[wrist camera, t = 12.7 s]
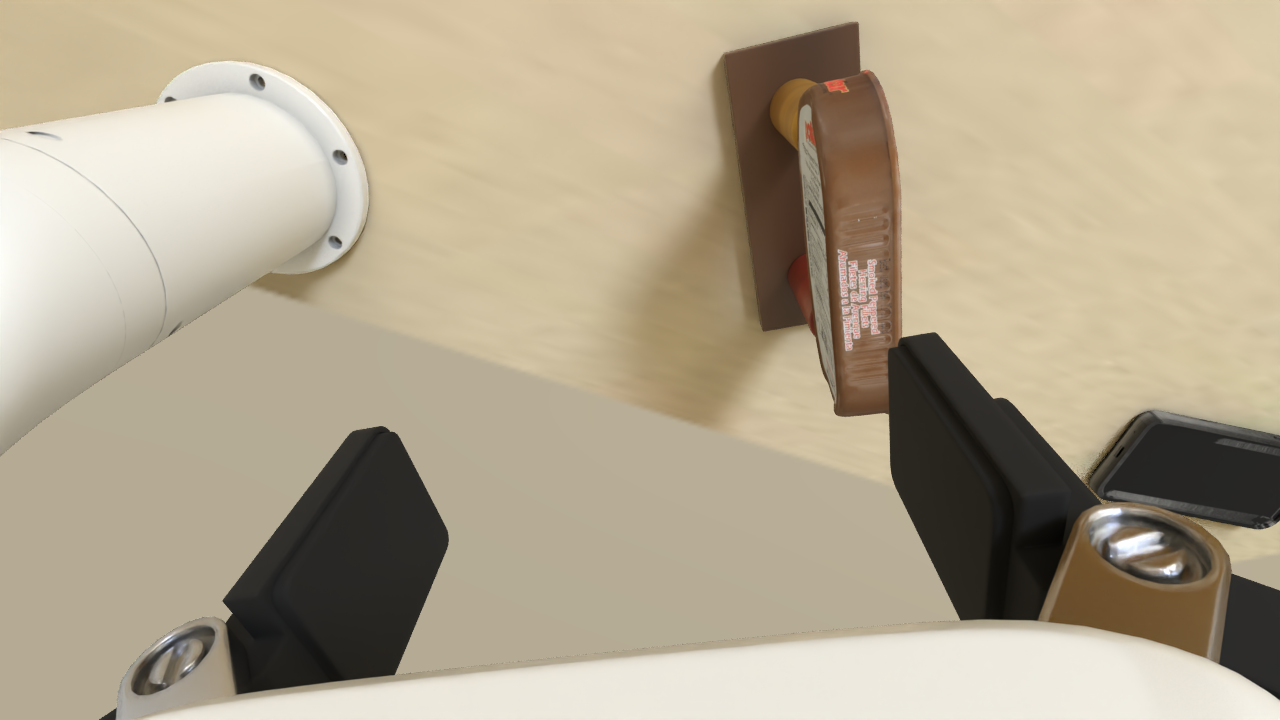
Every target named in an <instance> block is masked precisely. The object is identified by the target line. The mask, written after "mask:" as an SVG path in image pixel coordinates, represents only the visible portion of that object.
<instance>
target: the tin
mask: <svg viewBox="0 0 1280 720" xmlns="http://www.w3.org/2000/svg"><path fill="white" fill-rule="evenodd" d="M797 141H798V156H799V170H800V182H801V195H802V208H803V222H804V236H805V247H806V258H807V268H808V278H809V287H810V296H811V305H812V313H813V321H814V328H815V335H816V342H817V348H818V353H819V359H820V364H821V368H822V371H823V374H824V377H825V379H826V380H827V382H828V384H829V387H830V391H831V394H832V397H833V400H834V412H835V414H836V415H838V416H842V417H850V416H861V415H870V414H878V413H886V414H889V389H888V350H889V348H893V347H898V342H899V339H900V338H902V274H901V267H902V266H901V258H902V251H901V185H900V173H899V164H898V153H897V147H896V142H895V137H894V130H893V124H892V118H891V115H890V111H889V106H888V103H887V100H886V97H885V94H884V91H883V88H882V86H881V85H880V83H879V81H878V79H877V77H876V76H875V75H874V73H873V72H871V71H869V70H864V71H862V72H860V73H859V74H858V75H855V76H851V77H847V78H842V79H837V80H833V81H828V82H824V83H820V84H816V85H814V86H811V87H810V88H808V89H807V90H806V91H805V92H804V93H803V94H802V96H801V98H800V100H799V105H798V114H797Z"/></svg>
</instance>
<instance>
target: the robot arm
mask: <svg viewBox="0 0 1280 720" xmlns="http://www.w3.org/2000/svg"><path fill="white" fill-rule="evenodd" d="M262 79H263V80H264V82H265V84H264V83H263V80H262ZM343 152H344V153H345V154H346V156H347V158H345V157H344V155H343ZM368 207H369V186H368V182H367V177H366V172H365V167H364V164H363V162H362V159H361V157H360V154H359V151H358V149H357V146H356V145H355V143H354V141H353V140H352V138H351V136H350V134H349V133H348V131H347V129H346V127H345V126H344V125H343V124H342V122H341V121H340V120H339V119H338V117H337V116H336V115H335V114H334V112H333V111H332V110H331V109H330V108H329V107H328V106H327V105H326V104H325V103H324V102H323V101H322V100H321V99H320V98H319V97H318V96H317V95H315V94H314V93H313V92H312V91H311V90H309V89H308V88H306V87H305V86H303V85H302V84H300V83H299V82H298V81H296V80H295V79H293V78H291V77H289V76H287V75H285V74H283V73H281V72H279V71H276V70H274V69H272V68H269V67H265V66H262V65H258V64H255V63H251V62H240V61H222V62H210V63H206V64H202V65H199V66H195V67H191V68H189V69H188V70H186V71H184V72H183V73H181V74H179V75H178V76H176V77H175V78H174V79H173V80H172V81H171V82H170V83H169V84H168V85H167V86H166V87H165V88H164V89H163V91H162V93H161V95H160V96H159V98H158V100H157V102H156V104H153V105H147V106H141V107H135V108H129V109H123V110H117V111H111V112H105V113H99V114H93V115H87V116H81V117H75V118H69V119H63V120H57V121H51V122H45V123H40V124H34V125H28V126H22V127H16V128H10V129H4V130H0V456H1V455H2V454H4V453H5V451H7V450H8V449H9V448H10V447H11V446H12V445H14V444H15V443H16V442H17V441H19V440H20V439H21V438H22V437H23V436H24V435H26V434H27V433H28V432H29V431H31V430H32V429H33V428H34V427H35V426H37V425H38V424H39V423H40V422H42V421H43V420H44V419H46V418H47V417H49V416H50V415H51V414H53V413H54V412H55V411H57V410H58V409H59V408H61V407H62V406H63V405H65V404H66V403H68V402H69V401H70V400H72V399H73V398H75V397H76V396H78V395H79V394H81V393H82V392H84V391H85V390H87V389H88V388H90V387H91V386H92V385H94V384H95V383H97V382H98V381H100V380H101V379H103V378H104V377H106V376H107V375H109V374H110V373H112V372H114V371H115V370H117V369H118V368H120V367H121V366H123V365H125V364H126V363H128V362H129V361H131V360H132V359H134V358H135V357H137V356H139V355H140V354H142V353H144V352H145V351H147V350H148V349H150V348H151V347H153V346H155V345H156V344H158V343H159V342H161V341H162V340H164V339H165V338H167V337H168V336H170V335H172V334H173V333H175V332H176V331H178V330H180V329H181V328H183V327H184V326H186V325H187V324H189V323H191V322H192V321H194V320H195V319H197V318H198V317H200V316H202V315H203V314H205V313H206V312H208V311H209V310H211V309H212V308H214V307H216V306H217V305H219V304H220V303H222V302H223V301H225V300H226V299H228V298H229V297H231V296H233V295H234V294H236V293H237V292H239V291H241V290H242V289H244V288H245V287H247V286H249V285H250V284H252V283H253V282H255V281H256V280H258V279H260V278H261V277H263V276H264V275H266V274H267V273H269V272H271V273H277V274H290V275H293V274H302V273H309V272H313V271H316V270H319V269H322V268H324V267H326V266H328V265H329V264H331V263H333V262H334V261H336V260H338V259H339V258H340V257H341V256H343V255H344V254H345V253H346V252H348V251H349V250H350V249H351V247H352V246H353V245H354V243H355V242H356V241H357V239H358V238H359V236H360V234H361V232H362V230H363V227H364V225H365V223H366V218H367V213H368ZM339 239H340V240H341V241H340V240H339ZM888 389H889V429H890V466H891V474H892V478H893V481H894V484H895V487H896V489H897V491H898V493H899V495H900V497H901V499H902V501H903V503H904V505H905V507H906V509H907V512H908V514H909V515H910V518H911V520H912V522H913V524H914V526H915V528H916V530H917V532H918V534H919V536H920V538H921V540H922V542H923V544H924V546H925V548H926V550H927V552H928V555H929V557H930V558H931V561H932V563H933V564H934V567H935V569H936V571H937V573H938V575H939V577H940V579H941V581H942V583H943V585H944V587H945V589H946V591H947V593H948V596H949V597H950V600H951V602H952V603H953V606H954V608H955V610H956V612H957V614H958V616H959V618H960V620H961V621H940V622H919V623H908V624H896V625H884V626H873V627H860V628H848V629H836V630H824V631H812V632H802V633H792V634H783V635H772V636H762V637H752V638H742V639H732V640H722V641H712V642H702V643H692V644H682V645H672V646H662V647H652V648H642V649H633V650H623V651H613V652H604V653H594V654H585V655H575V656H566V657H556V658H547V659H538V660H529V661H518V662H509V663H501V664H490V665H481V666H471V667H463V668H454V669H445V670H436V671H427V672H418V673H409V674H401V675H395V673H396V670H397V668H398V666H399V663H400V661H401V659H402V656H403V654H404V651H405V649H406V647H407V644H408V642H409V639H410V637H411V634H412V632H413V630H414V627H415V625H416V622H417V620H418V618H419V615H420V613H421V610H422V608H423V606H424V603H425V601H426V598H427V596H428V593H429V591H430V589H431V586H432V584H433V581H434V579H435V577H436V574H437V572H438V569H439V567H440V564H441V562H442V560H443V557H444V555H445V553H446V550H447V547H448V542H449V538H448V531H447V529H446V527H445V525H444V523H443V521H442V519H441V517H440V515H439V513H438V511H437V509H436V507H435V505H434V503H433V501H432V499H431V497H430V495H429V494H428V492H427V490H426V488H425V486H424V484H423V482H422V480H421V478H420V476H419V474H418V472H417V471H416V468H415V467H414V465H413V463H412V461H411V459H410V457H409V455H408V453H407V451H406V449H405V447H404V445H403V444H402V442H401V440H400V438H399V436H398V435H397V434H396V433H395V432H390V431H389V430H388V429H387V428H386V427H383V426H379V427H373V428H367V429H362V430H356V431H353V432H352V433H350V434H349V436H348V437H347V438H346V439H345V441H344V442H343V443H342V445H341V446H340V447H339V449H338V450H337V451H336V453H335V454H334V455H333V457H332V458H331V459H330V461H329V462H328V463H327V464H326V466H325V467H324V468H323V470H322V471H321V472H320V474H319V475H318V476H317V477H316V479H315V480H314V482H313V483H312V484H311V485H310V487H309V488H308V489H307V491H306V492H305V493H304V494H303V496H302V497H301V499H300V500H299V501H298V502H297V504H296V505H295V506H294V508H293V509H292V510H291V512H290V513H289V514H288V515H287V517H286V518H285V519H284V521H283V522H282V523H281V525H280V526H279V527H278V529H277V530H276V531H275V532H274V534H273V535H272V536H271V538H270V539H269V540H268V542H267V543H266V544H265V546H264V547H263V548H262V549H261V551H260V552H259V554H258V555H257V556H256V557H255V559H254V560H253V561H252V563H251V564H250V565H249V567H248V568H247V569H246V571H245V572H244V573H243V575H242V576H241V577H240V578H239V580H238V581H237V582H236V584H235V585H234V586H233V588H232V589H231V590H230V591H229V593H228V594H227V595H226V597H225V598H224V599H223V602H224V604H225V605H226V606H227V607H228V608H229V610H230V611H231V612H232V613H233V614H232V615H231V616H230V618H229V619H228V621H227V622H226V623H225V622H224V621H223V620H221V619H219V618H216V617H202V618H199V619H196V620H193V621H189V622H187V623H185V624H183V625H181V626H179V627H177V628H175V629H173V630H172V631H170V632H169V633H167V634H166V635H164V636H163V637H161V638H160V639H158V640H157V641H156V642H155V643H154V644H152V645H151V646H150V647H149V648H148V649H146V650H145V651H144V652H143V653H142V654H141V655H140V656H139V658H138V659H137V660H136V661H135V662H134V663H133V664H132V665H131V666H130V668H129V669H128V671H127V673H126V674H125V676H124V677H123V679H122V681H121V684H120V688H119V691H118V700H117V708H116V709H114V710H113V711H111V712H110V713H108V714H107V715H105V716H104V717H102V718H101V719H99V720H1280V591H1279V590H1277V589H1274V588H1271V587H1268V586H1265V585H1262V584H1260V583H1257V582H1254V581H1251V580H1248V579H1246V578H1243V577H1240V576H1237V575H1234V574H1231V572H1232V570H1231V564H1230V558H1229V555H1228V553H1227V552H1226V551H1225V549H1224V548H1223V546H1222V545H1221V543H1220V542H1219V541H1218V540H1217V539H1216V538H1215V537H1214V536H1212V535H1211V534H1210V533H1209V532H1208V531H1206V530H1205V529H1204V528H1203V527H1202V526H1200V525H1198V524H1196V523H1194V522H1192V521H1191V520H1189V519H1187V518H1185V517H1183V516H1181V515H1179V514H1176V513H1173V512H1171V511H1168V510H1165V509H1162V508H1159V507H1155V506H1150V505H1145V504H1140V503H1133V502H1111V503H1106V504H1102V503H1101V502H1100V501H1099V500H1098V499H1097V498H1096V496H1095V495H1094V494H1093V493H1092V492H1091V491H1090V490H1089V489H1088V487H1087V486H1086V485H1085V484H1084V483H1083V482H1082V481H1081V480H1080V479H1079V477H1078V476H1077V475H1076V474H1075V473H1074V472H1073V471H1072V470H1071V469H1070V467H1069V466H1068V465H1067V464H1066V463H1065V462H1064V461H1063V460H1062V459H1061V457H1060V456H1059V455H1058V454H1057V453H1056V452H1055V451H1054V450H1053V448H1052V447H1051V446H1050V445H1049V444H1048V443H1047V442H1046V441H1045V440H1044V438H1043V437H1042V436H1041V435H1040V434H1039V433H1038V432H1037V431H1036V430H1035V428H1034V427H1033V426H1032V425H1031V424H1030V423H1029V422H1028V421H1027V419H1026V418H1025V417H1024V416H1023V415H1022V414H1021V413H1020V412H1019V411H1018V409H1017V408H1016V407H1015V406H1014V405H1013V404H1012V403H1011V402H1009V401H1008V400H1007V399H1004V398H996V399H993V398H992V397H991V396H990V395H989V393H988V392H987V391H986V390H985V389H984V388H983V386H982V385H981V384H980V383H979V382H978V381H977V379H976V378H975V377H974V376H973V375H972V374H971V372H970V371H969V370H968V369H967V368H966V367H965V366H964V364H963V363H962V362H961V361H960V360H959V359H958V357H957V356H956V355H955V354H954V353H953V352H952V350H951V349H950V348H949V347H948V346H947V345H946V343H945V342H944V341H943V340H942V339H941V338H940V336H939V335H938V334H936V333H934V332H932V333H926V334H921V335H915V336H909V337H903V338H900V339H899V342H898V347H893V348H889V350H888Z"/></svg>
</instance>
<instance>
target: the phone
mask: <svg viewBox="0 0 1280 720" xmlns="http://www.w3.org/2000/svg"><path fill="white" fill-rule="evenodd" d="M1089 486H1090V488H1091V489H1092V490H1093V491H1094V492H1095V493H1096V494H1097V495H1098V496H1099V497H1100V498H1101V499H1104V500H1107V501H1113V502H1133V503H1140V504H1145V505H1150V506H1155V507H1159V508H1162V509H1165V510H1168V511H1171V512H1173V513H1176V514H1180V515H1185V516H1190V517H1195V518H1200V519H1206V520H1211V521H1216V522H1221V523H1226V524H1231V525H1237V526H1242V527H1247V528H1252V529H1265V528H1268V527H1271V526H1273V525H1275V524H1276V523H1277V522H1279V521H1280V436H1279V435H1274V434H1270V433H1265V432H1260V431H1255V430H1250V429H1245V428H1241V427H1236V426H1231V425H1226V424H1221V423H1216V422H1211V421H1206V420H1202V419H1197V418H1192V417H1187V416H1182V415H1177V414H1172V413H1168V412H1163V411H1156V410H1153V411H1148V412H1145V413H1143V414H1141V415H1139V416H1138V417H1137V418H1136V419H1135V420H1134V421H1133V422H1132V424H1131V425H1130V426H1129V427H1128V429H1127V430H1126V431H1125V433H1124V434H1123V435H1122V437H1121V438H1120V439H1119V441H1118V442H1117V443H1116V444H1115V446H1114V447H1113V448H1112V450H1111V451H1110V452H1109V454H1108V455H1107V456H1106V458H1105V459H1104V460H1103V461H1102V463H1101V464H1100V465H1099V467H1098V468H1097V469H1096V471H1095V472H1094V473H1093V475H1092V476H1091V477H1090V479H1089Z"/></svg>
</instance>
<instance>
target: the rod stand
mask: <svg viewBox="0 0 1280 720" xmlns="http://www.w3.org/2000/svg"><path fill="white" fill-rule="evenodd" d="M723 58H724V65H725V72H726V79H727V86H728V93H729V101H730V108H731V115H732V122H733V129H734V137H735V144H736V151H737V158H738V165H739V173H740V180H741V187H742V194H743V201H744V209H745V216H746V223H747V230H748V237H749V244H750V252H751V259H752V266H753V273H754V280H755V288H756V295H757V302H758V309H759V316H760V324H761V327H762V330H763V331H769V330H775V329H780V328H786V327H792V326H797V325H803V324H808V326H809V328H810V330H811V332H812V333H813V335H814V336H815V337H816V335H815V328H814V321H813V313H812V305H811V296H810V287H809V278H808V268H807V258H806V247H805V236H804V222H803V208H802V195H801V182H800V170H799V156H798V141H797V114H798V105H799V100H800V98H801V96H802V94H803V93H804V92H805V91H806V90H807V89H808V88H810V87H811V86H814V85H816V84H820V83H824V82H828V81H833V80H837V79H842V78H847V77H851V76H855V75H858V74H859V73H860V47H859V23H858V22H849V23H845V24H841V25H837V26H832V27H828V28H824V29H820V30H816V31H812V32H808V33H804V34H800V35H796V36H792V37H787V38H783V39H779V40H775V41H771V42H767V43H763V44H759V45H755V46H751V47H747V48H742V49H738V50H734V51H730V52H726V53H724V54H723Z"/></svg>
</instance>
